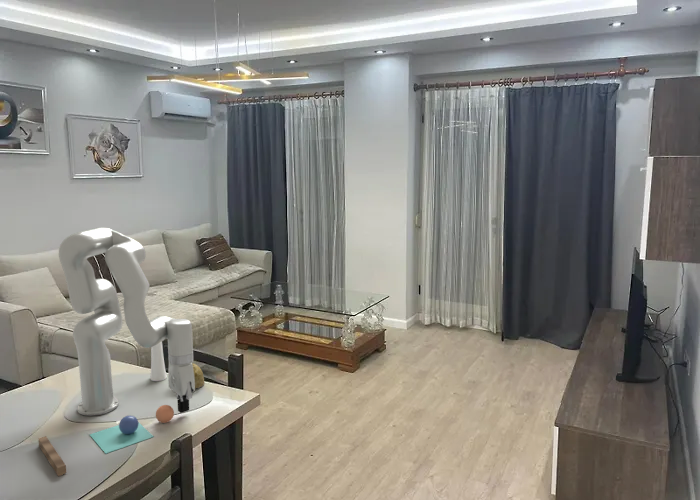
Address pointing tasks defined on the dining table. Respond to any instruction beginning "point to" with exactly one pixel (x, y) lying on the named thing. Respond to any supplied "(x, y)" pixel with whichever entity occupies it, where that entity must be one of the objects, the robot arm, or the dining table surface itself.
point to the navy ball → (128, 424)
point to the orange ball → (164, 413)
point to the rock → (198, 376)
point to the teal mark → (119, 438)
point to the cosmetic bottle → (157, 363)
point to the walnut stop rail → (52, 456)
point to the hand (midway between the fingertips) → (183, 410)
